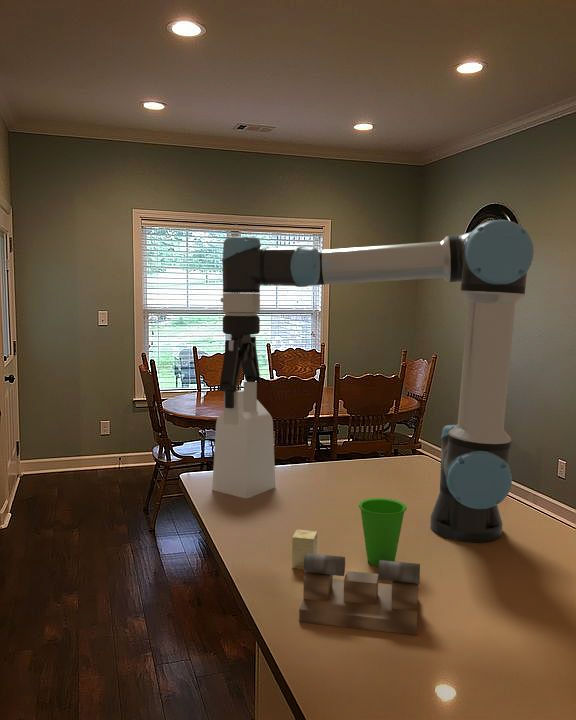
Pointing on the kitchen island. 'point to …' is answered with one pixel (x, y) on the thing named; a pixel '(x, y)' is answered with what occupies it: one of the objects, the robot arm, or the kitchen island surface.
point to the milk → (244, 453)
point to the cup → (381, 527)
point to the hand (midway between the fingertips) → (240, 417)
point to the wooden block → (303, 546)
